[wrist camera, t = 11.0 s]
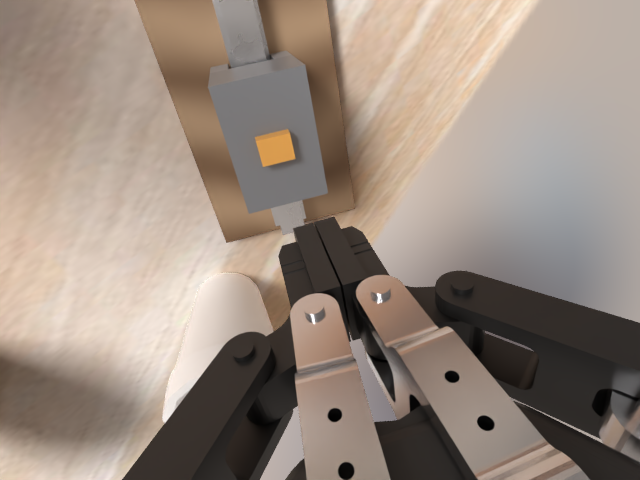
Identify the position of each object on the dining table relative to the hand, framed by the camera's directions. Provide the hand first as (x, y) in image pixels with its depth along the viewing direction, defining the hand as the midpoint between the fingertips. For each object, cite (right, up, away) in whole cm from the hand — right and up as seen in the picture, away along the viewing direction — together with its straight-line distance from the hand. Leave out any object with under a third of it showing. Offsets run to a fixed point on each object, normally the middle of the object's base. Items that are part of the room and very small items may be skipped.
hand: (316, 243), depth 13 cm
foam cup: (-9, -6, +25) cm, 27 cm away
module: (-4, +10, +15) cm, 19 cm away
